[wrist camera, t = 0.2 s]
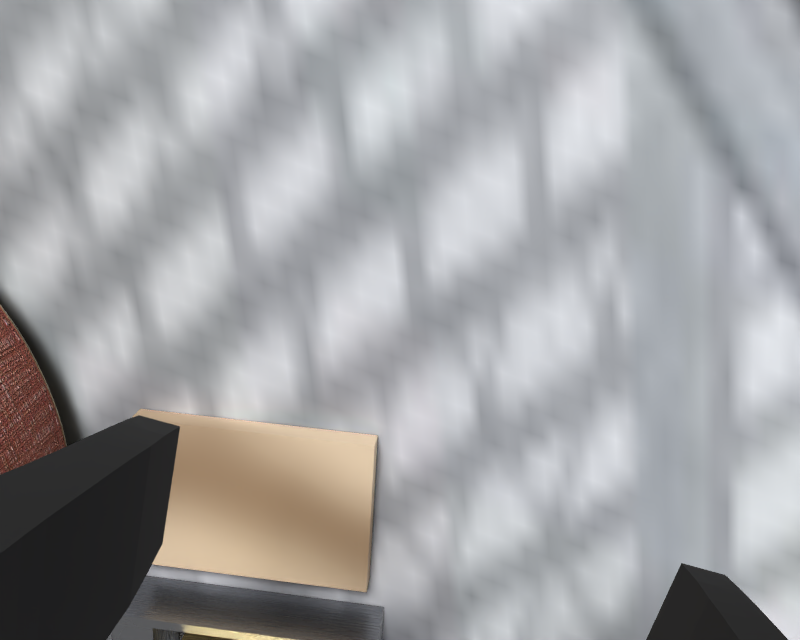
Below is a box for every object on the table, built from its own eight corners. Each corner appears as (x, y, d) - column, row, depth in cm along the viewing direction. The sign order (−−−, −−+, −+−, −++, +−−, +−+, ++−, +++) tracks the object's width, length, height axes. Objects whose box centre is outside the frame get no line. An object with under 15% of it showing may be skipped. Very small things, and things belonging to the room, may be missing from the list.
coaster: (369, 579, 23) (366, 592, 23) (149, 550, 24) (141, 562, 23) (377, 435, 21) (374, 446, 21) (140, 409, 22) (131, 418, 21)
